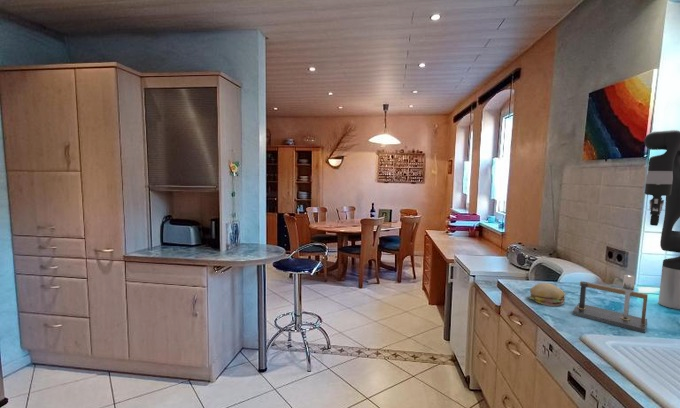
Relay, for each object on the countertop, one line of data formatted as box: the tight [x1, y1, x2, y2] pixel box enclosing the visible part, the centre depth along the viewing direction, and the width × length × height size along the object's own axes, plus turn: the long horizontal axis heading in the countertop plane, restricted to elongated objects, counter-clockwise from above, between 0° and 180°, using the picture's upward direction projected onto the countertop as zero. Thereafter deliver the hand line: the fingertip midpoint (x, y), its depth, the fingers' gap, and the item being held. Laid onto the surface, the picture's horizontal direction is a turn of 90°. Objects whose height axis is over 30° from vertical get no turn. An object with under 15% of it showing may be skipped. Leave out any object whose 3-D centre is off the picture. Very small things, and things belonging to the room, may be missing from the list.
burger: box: [528, 282, 566, 307], centre depth 152 cm, size 13×14×8 cm
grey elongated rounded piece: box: [622, 274, 636, 318], centre depth 130 cm, size 5×3×17 cm
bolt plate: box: [572, 280, 649, 334], centre depth 134 cm, size 12×22×12 cm, turn 45°
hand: (654, 224), depth 132 cm, fingers open, 8 cm apart
